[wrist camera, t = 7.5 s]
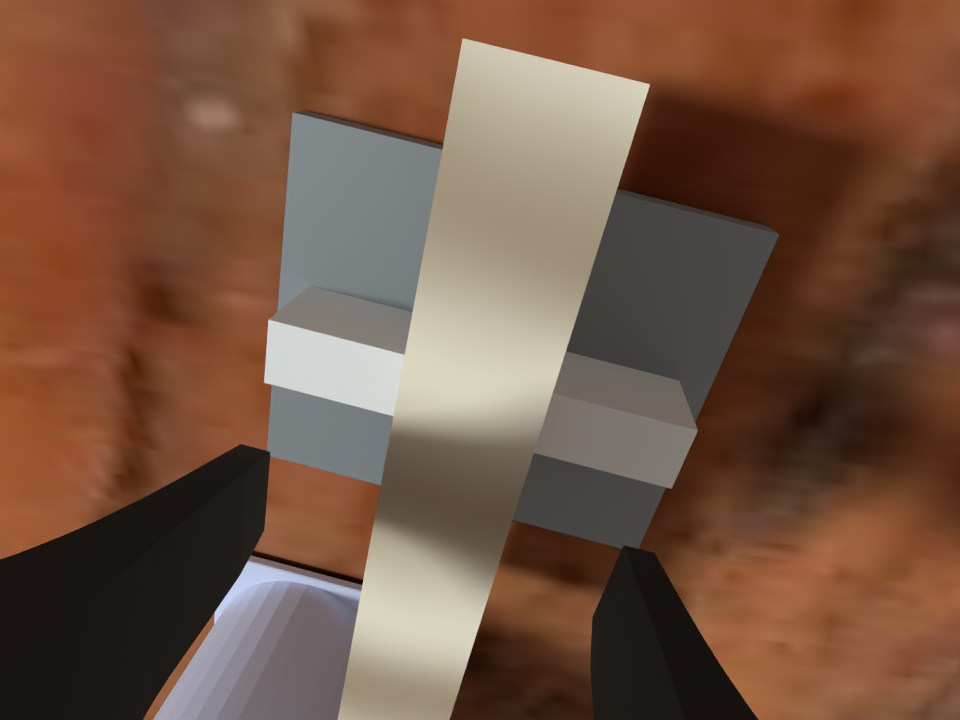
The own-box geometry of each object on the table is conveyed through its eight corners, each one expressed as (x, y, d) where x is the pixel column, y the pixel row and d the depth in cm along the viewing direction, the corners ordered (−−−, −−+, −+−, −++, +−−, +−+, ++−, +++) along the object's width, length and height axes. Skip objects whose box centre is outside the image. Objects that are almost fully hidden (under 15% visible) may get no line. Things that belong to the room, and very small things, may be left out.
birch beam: (458, 643, 21) (436, 761, 17) (374, 621, 21) (335, 733, 17) (626, 82, 13) (650, 84, 9) (491, 49, 13) (462, 38, 9)
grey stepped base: (633, 534, 23) (646, 619, 19) (278, 440, 23) (225, 507, 20) (768, 226, 18) (820, 264, 14) (306, 110, 18) (241, 118, 14)
